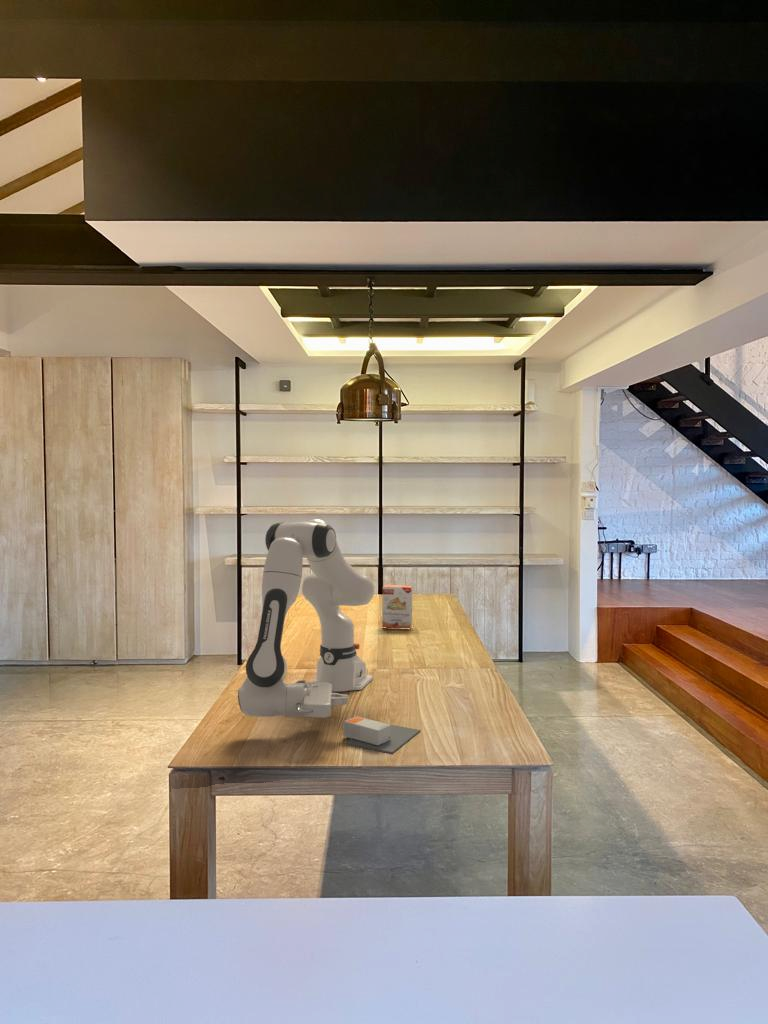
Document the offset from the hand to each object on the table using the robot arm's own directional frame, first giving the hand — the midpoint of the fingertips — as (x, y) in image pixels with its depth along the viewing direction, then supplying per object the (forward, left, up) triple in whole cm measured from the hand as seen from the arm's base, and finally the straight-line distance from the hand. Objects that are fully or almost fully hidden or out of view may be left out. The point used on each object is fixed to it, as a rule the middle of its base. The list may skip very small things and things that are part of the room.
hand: (348, 699), depth 187 cm
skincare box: (+1, +1, -7) cm, 7 cm away
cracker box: (-134, -48, -10) cm, 143 cm away
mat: (-1, +10, -9) cm, 14 cm away
